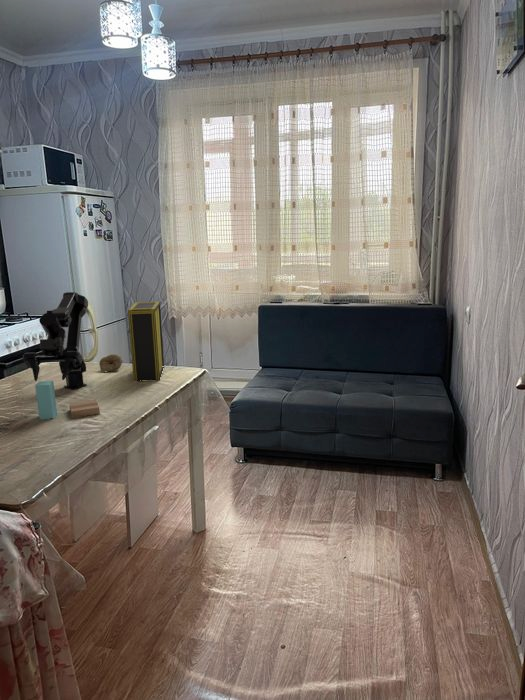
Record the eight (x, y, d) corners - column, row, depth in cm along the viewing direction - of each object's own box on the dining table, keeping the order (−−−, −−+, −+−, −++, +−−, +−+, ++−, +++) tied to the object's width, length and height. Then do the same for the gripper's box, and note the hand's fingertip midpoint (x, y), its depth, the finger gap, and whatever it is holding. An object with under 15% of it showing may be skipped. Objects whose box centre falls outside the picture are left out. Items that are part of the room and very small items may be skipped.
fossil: (97, 357, 235) (119, 351, 237) (99, 362, 239) (121, 356, 241) (101, 373, 231) (124, 367, 233) (103, 378, 234) (126, 372, 236)
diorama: (140, 368, 237) (135, 302, 230) (164, 367, 238) (160, 301, 231) (133, 382, 217) (127, 309, 210) (159, 380, 218) (154, 308, 211)
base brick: (69, 410, 186) (69, 403, 185) (96, 406, 189) (95, 399, 189) (72, 418, 178) (71, 411, 177) (99, 414, 181) (99, 407, 181)
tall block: (43, 414, 182) (39, 381, 179) (57, 414, 182) (53, 380, 179) (39, 419, 177) (35, 385, 174) (53, 418, 178) (49, 384, 175)
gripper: (20, 330, 183) (12, 369, 174) (76, 328, 184) (70, 367, 176) (31, 347, 192) (24, 385, 184) (84, 345, 193) (79, 383, 185)
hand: (49, 380), depth 182 cm, fingers open, 9 cm apart
